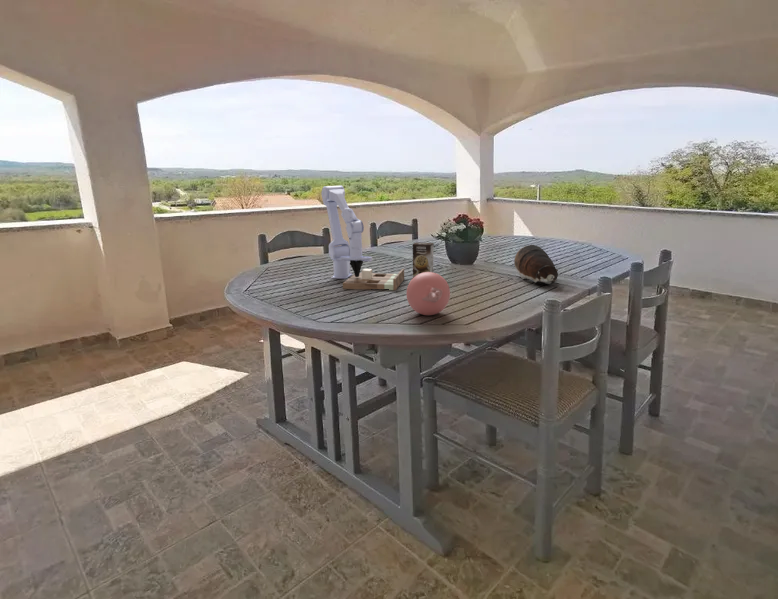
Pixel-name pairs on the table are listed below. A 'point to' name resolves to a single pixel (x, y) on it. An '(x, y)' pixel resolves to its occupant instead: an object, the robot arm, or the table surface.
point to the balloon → (428, 293)
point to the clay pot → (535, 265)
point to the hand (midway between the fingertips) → (357, 276)
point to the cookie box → (422, 258)
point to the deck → (375, 281)
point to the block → (366, 273)
